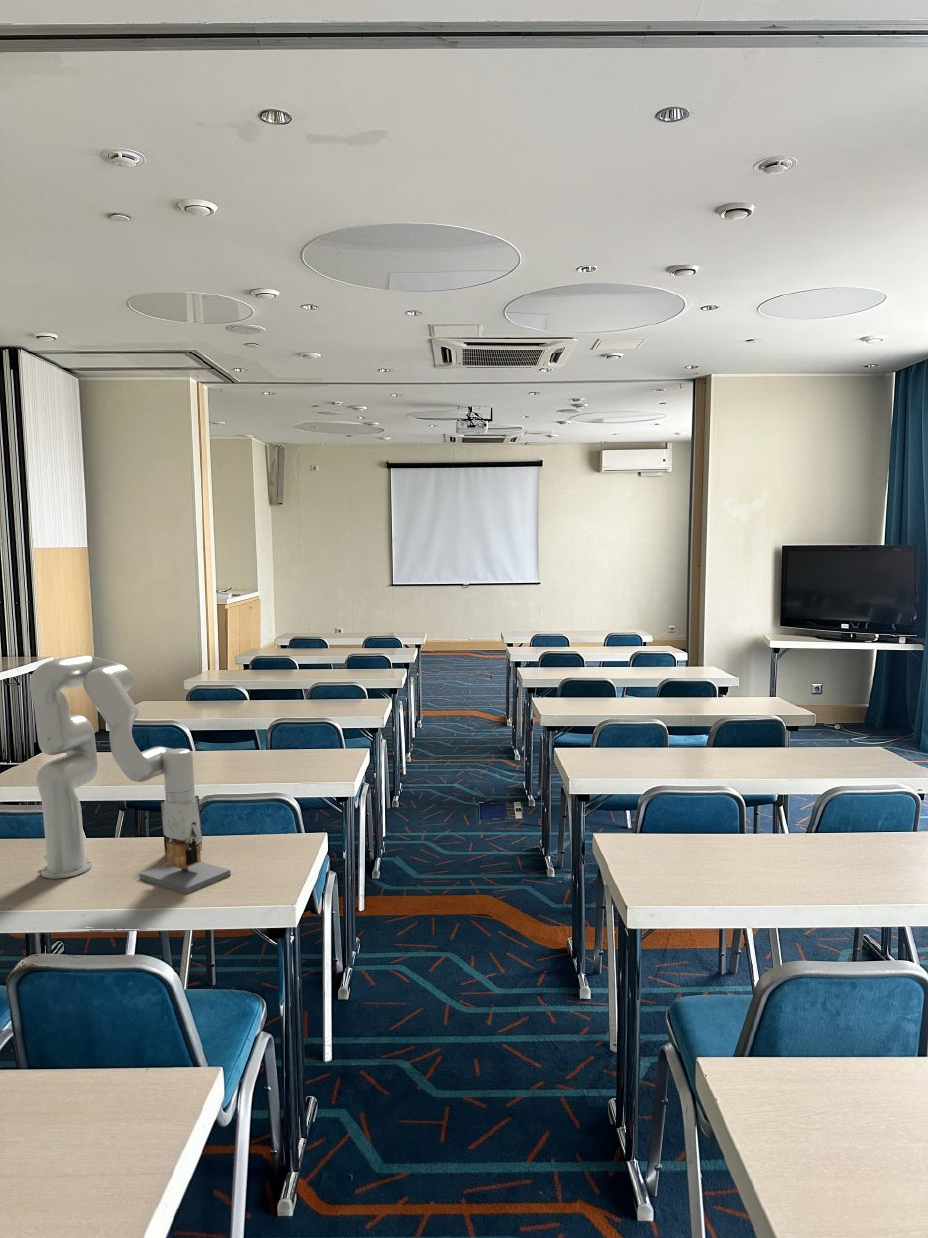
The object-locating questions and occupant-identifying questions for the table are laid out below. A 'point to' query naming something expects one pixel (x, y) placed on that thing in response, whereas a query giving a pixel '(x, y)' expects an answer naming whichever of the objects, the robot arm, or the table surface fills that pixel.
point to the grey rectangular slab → (185, 876)
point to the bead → (179, 854)
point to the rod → (185, 870)
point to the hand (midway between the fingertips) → (184, 860)
